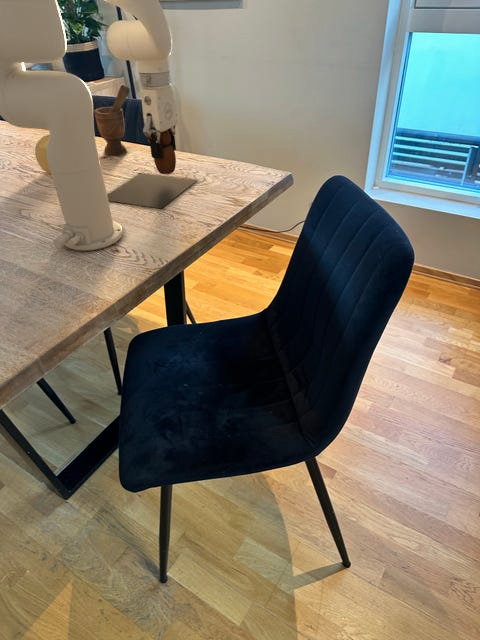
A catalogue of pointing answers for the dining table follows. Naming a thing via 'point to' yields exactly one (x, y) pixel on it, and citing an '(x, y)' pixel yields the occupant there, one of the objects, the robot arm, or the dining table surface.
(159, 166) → the wooden figurine
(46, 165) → the sculpture
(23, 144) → the dining table surface
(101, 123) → the mortar and pestle
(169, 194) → the mat
